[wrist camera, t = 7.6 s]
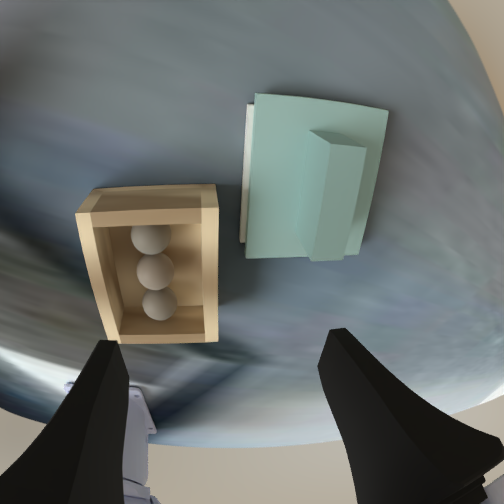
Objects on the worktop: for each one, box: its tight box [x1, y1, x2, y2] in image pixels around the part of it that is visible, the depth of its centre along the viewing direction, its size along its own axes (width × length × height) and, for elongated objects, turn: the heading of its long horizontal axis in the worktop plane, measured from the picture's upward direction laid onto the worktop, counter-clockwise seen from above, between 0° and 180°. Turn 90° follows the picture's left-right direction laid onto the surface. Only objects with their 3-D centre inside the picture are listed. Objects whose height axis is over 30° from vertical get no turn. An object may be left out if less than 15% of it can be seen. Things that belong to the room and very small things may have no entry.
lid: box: [244, 93, 389, 261], centre depth 16 cm, size 9×7×4 cm
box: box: [75, 184, 219, 344], centre depth 18 cm, size 9×7×3 cm
